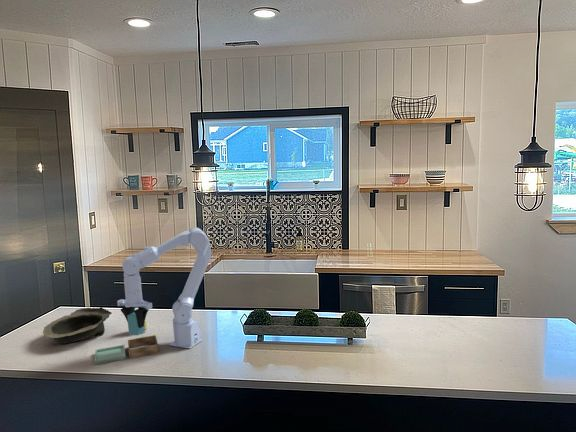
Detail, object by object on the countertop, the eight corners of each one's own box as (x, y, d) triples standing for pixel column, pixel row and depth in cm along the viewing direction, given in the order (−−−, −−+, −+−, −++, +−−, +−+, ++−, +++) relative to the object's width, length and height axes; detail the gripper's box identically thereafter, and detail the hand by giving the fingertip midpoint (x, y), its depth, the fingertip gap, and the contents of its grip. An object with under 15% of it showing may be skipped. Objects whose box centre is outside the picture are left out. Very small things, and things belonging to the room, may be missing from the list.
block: (145, 331, 164) (143, 312, 163) (137, 335, 160) (135, 316, 159) (136, 330, 166) (135, 311, 165) (128, 334, 162) (127, 315, 161)
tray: (124, 348, 167) (124, 344, 167) (125, 358, 158) (125, 354, 157) (95, 353, 163) (95, 349, 163) (95, 364, 154) (94, 360, 154)
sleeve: (156, 342, 171) (155, 335, 170) (158, 352, 162) (158, 344, 161) (128, 347, 167) (127, 339, 167) (129, 358, 158) (128, 350, 158)
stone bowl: (122, 325, 190) (120, 304, 189) (92, 355, 166) (88, 332, 164) (68, 324, 193) (64, 304, 191) (30, 354, 169) (26, 331, 167)
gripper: (109, 291, 160) (113, 327, 162) (141, 295, 154) (144, 332, 156) (124, 286, 167) (127, 321, 168) (154, 289, 161) (157, 325, 162)
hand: (136, 326), depth 163 cm, fingers closed on block, 4 cm apart
